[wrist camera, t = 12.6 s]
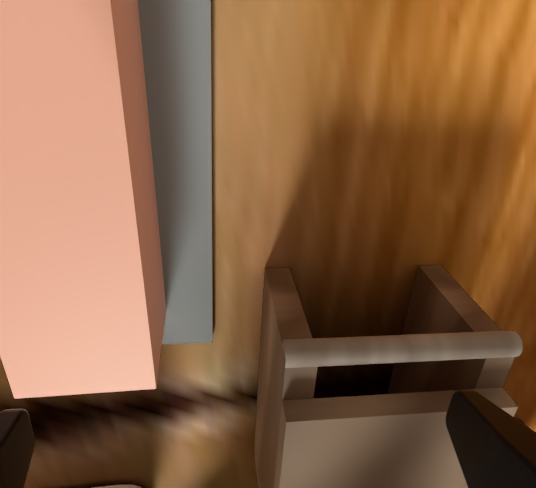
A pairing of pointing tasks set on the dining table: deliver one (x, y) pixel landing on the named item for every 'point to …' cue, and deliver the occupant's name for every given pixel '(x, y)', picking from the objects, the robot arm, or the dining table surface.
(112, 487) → the white arched slab
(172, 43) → the slate mat
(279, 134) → the dining table surface
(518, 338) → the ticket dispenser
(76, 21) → the block
